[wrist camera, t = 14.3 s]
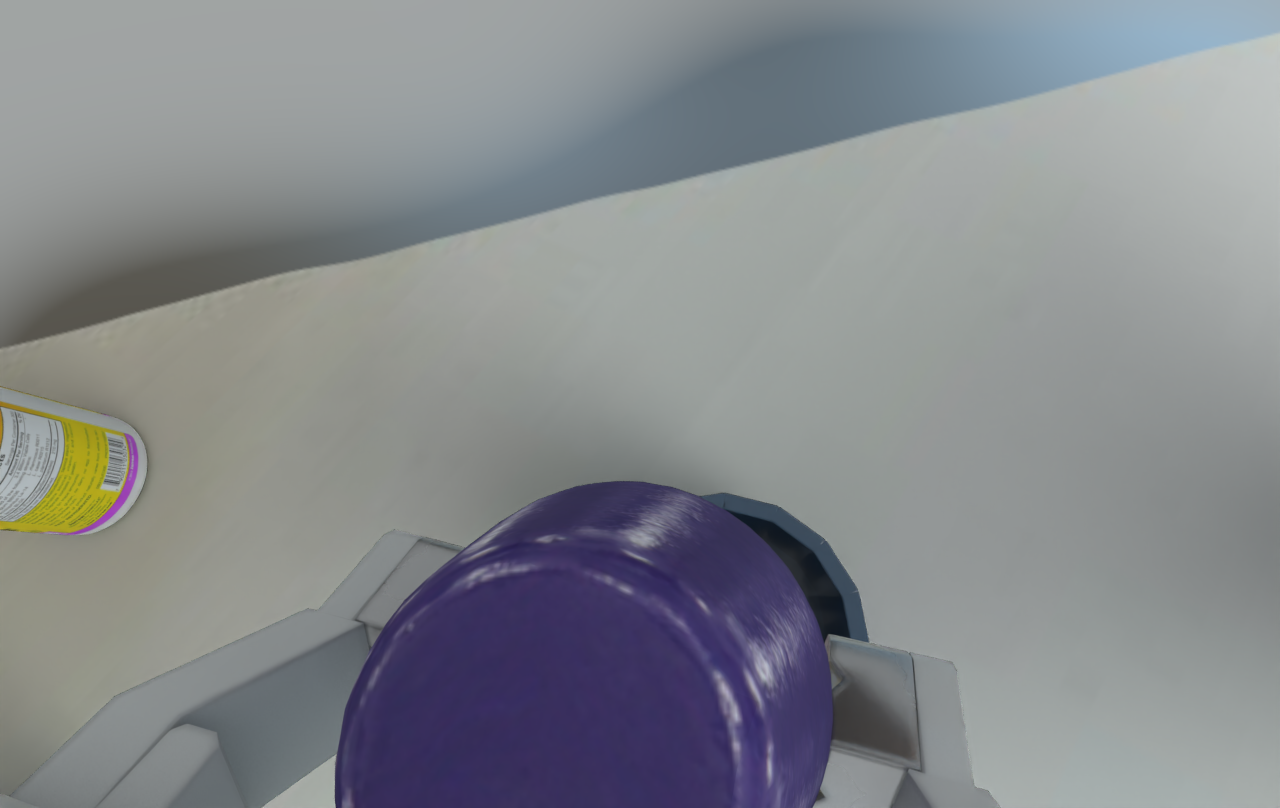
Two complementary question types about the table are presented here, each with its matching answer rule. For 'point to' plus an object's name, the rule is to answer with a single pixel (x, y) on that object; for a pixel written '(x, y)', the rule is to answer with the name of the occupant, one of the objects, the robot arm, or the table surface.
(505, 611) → the toy lamp
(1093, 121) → the table surface
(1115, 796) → the table surface
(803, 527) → the pen cup
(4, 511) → the supplement bottle
